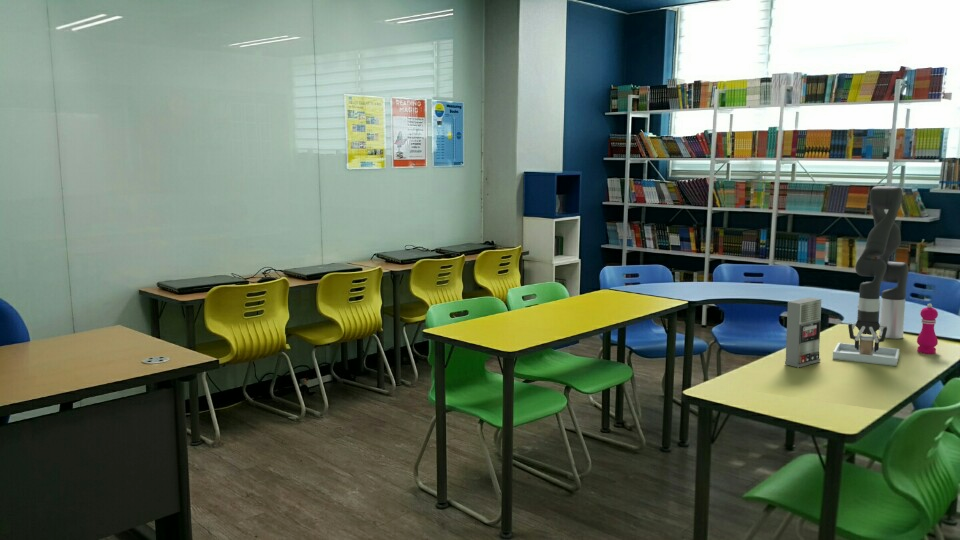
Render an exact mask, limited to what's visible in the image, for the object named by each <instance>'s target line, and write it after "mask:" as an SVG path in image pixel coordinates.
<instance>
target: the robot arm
mask: <svg viewBox="0 0 960 540" xmlns="http://www.w3.org/2000/svg"><path fill="white" fill-rule="evenodd" d="M902 201H903V191H902V189H901V187H899V186H889V185H888V186H884V185H883V186H882V185H881V186H880V185H878V186H873V187H872V188H871V190H870V192H869V204H870V209H871V214H872V218H873V224H874V226H873V228H871V230H870V231H869V233H868V235H867V239H866V244H865V248H864V249H863V251H862V254H860V257H859V258H858V260H857V261H856V263H855V268H854V269H855V272H856V274H857V275H858V276H860V277H872V278H873V280H871V281H865V282H864V281H863V282H861V283H860V284H859V293H858V294H859V295H858V297H859V298H858V301H857V302H858V304H857V317H856V319H857V321H856V323H852V322H850V323H848V325H847V327H848V333H849V339H852V340H854V344H855V348H856V350H859V345H860V336H861V335H868V336H873V338H874V345H873V346H874V352H876V351H878V349H879V347H880V343H883V342H884V341H885V339H894V340H895V339H896V340H897V339H903V338H904V328H905V327H904V325H905V311H906V297H907V295H906V293H907V284H908V276H909V275H908V274H909V267H908V263H906V262H904V261H903V262H902V261H888V260H889V258H890V257H891V256H892V255H893V254H894V253H895V251H897V250H898V249H899V247H900V245H901V243H902V235H901V230H900V229H901V228H900V227H899V225H898V224H897V223H896V222H895V221H896V218H897V216H898V213H899V210H900V208H901V205H902ZM885 210H888V211H887V212H886V211H885ZM875 257H876V258H875ZM877 257H878V258H877ZM882 282H883V283H890V284H891V283H892V284H897V285H896V286H895V287H891V288H888V289H884V290H882V291H881V285H882ZM880 294H881V295H880ZM880 296H881V297H880ZM855 328H857V329H858V333H857V335H855V334H854V329H855ZM877 331H878V332H879V333H877ZM878 336H879V337H881V338H879V337H878Z"/></svg>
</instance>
